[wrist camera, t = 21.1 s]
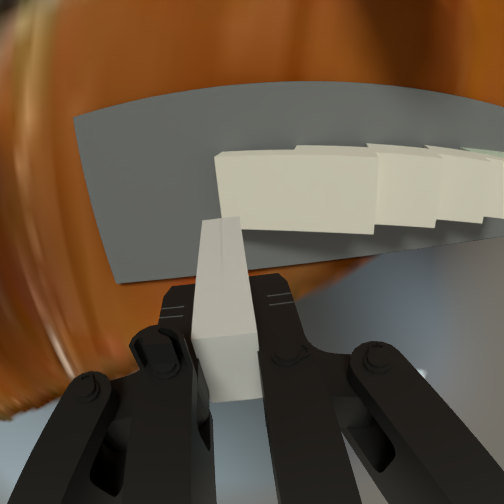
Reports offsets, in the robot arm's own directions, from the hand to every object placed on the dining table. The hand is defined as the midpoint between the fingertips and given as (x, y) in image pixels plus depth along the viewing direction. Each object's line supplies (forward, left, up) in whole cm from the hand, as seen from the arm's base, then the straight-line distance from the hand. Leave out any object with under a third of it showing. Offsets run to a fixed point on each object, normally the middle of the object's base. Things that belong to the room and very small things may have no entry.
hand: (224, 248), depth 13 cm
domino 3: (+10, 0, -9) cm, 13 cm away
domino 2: (+5, 0, -9) cm, 10 cm away
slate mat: (+11, 0, -10) cm, 15 cm away
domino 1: (0, 0, -9) cm, 9 cm away
